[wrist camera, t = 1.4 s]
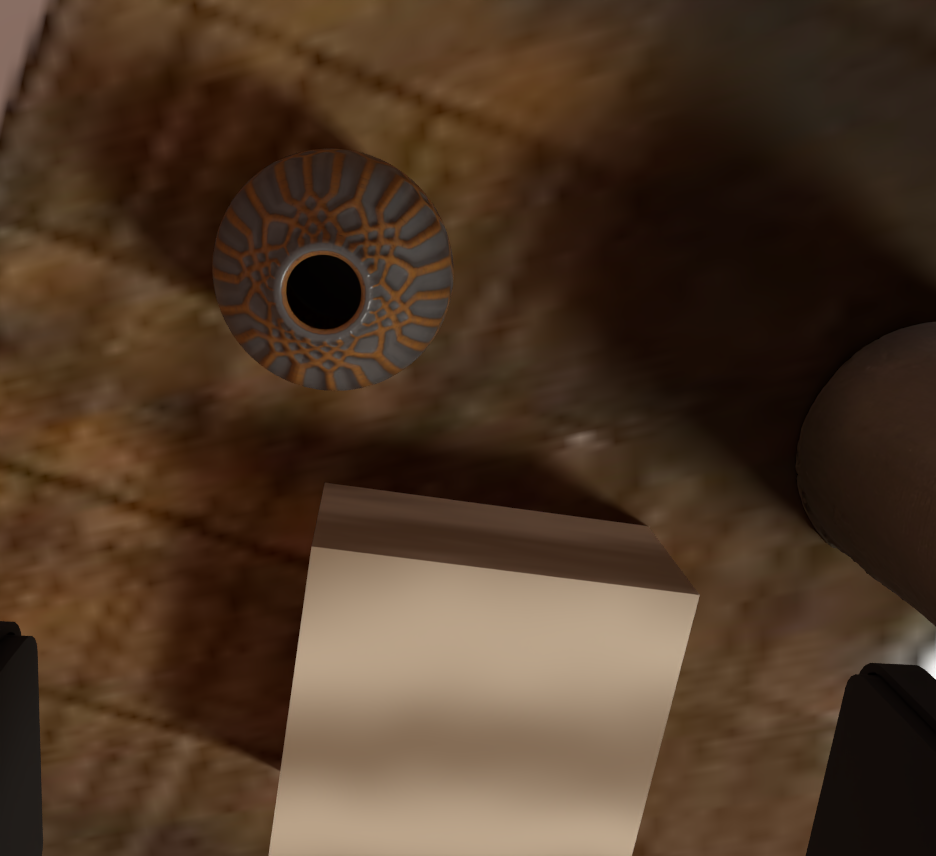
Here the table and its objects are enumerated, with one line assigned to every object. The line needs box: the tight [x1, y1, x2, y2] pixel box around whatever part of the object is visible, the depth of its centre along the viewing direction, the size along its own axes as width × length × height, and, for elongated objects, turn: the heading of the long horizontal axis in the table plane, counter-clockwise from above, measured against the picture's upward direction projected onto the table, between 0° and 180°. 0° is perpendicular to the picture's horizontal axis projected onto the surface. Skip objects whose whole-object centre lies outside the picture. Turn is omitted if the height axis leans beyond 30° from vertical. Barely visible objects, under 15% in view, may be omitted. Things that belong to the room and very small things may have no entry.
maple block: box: [269, 483, 700, 856], centre depth 31 cm, size 12×12×6 cm
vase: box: [212, 149, 454, 391], centre depth 26 cm, size 7×7×9 cm
